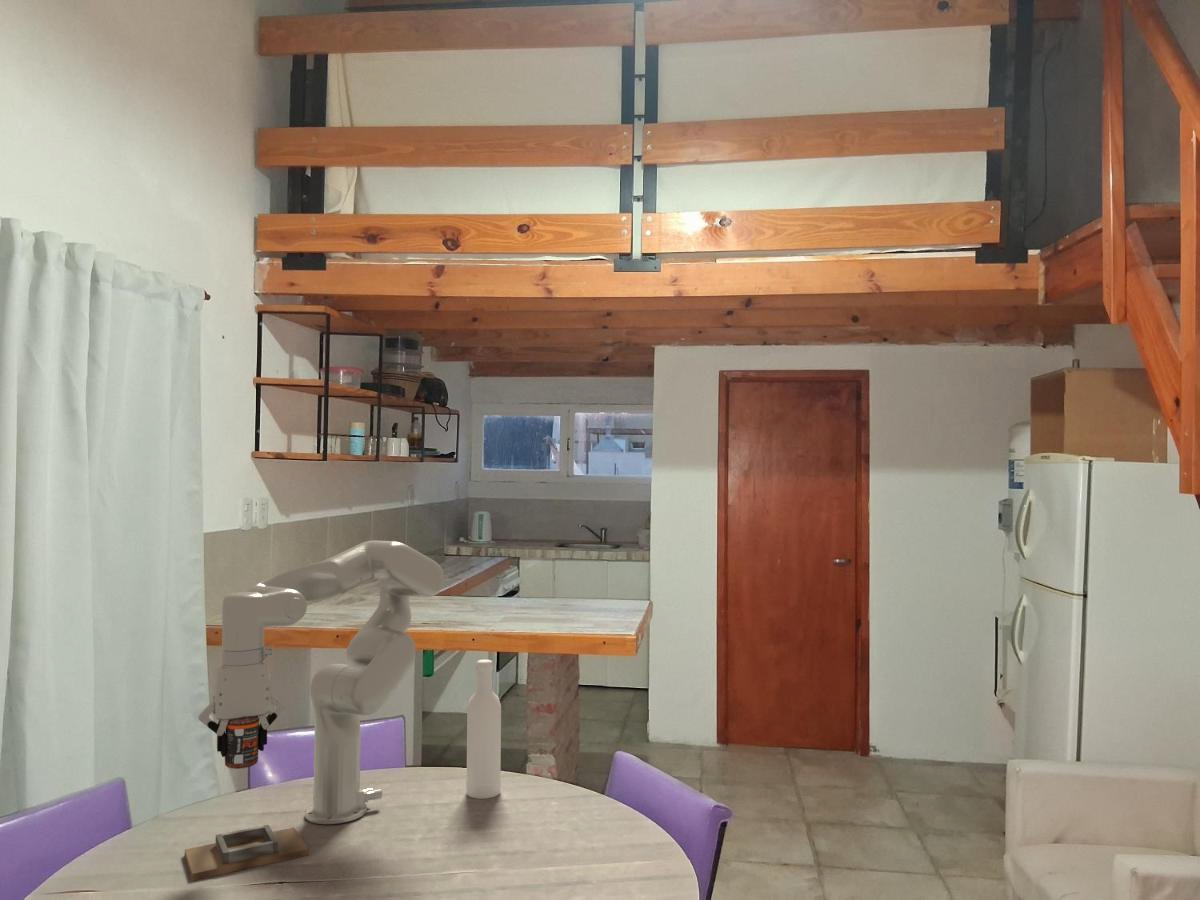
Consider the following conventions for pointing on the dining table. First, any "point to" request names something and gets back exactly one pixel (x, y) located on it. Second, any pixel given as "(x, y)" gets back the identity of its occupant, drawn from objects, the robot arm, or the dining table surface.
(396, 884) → the dining table surface
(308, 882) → the dining table surface
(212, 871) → the cap board
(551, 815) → the dining table surface
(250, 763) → the supplement bottle
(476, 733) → the bottle
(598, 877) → the dining table surface
